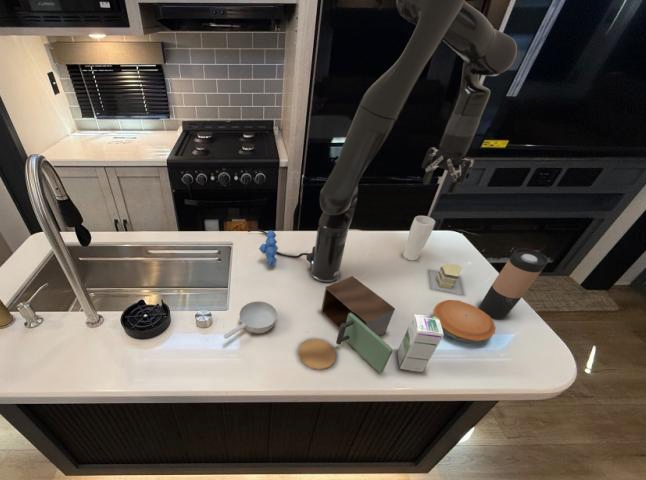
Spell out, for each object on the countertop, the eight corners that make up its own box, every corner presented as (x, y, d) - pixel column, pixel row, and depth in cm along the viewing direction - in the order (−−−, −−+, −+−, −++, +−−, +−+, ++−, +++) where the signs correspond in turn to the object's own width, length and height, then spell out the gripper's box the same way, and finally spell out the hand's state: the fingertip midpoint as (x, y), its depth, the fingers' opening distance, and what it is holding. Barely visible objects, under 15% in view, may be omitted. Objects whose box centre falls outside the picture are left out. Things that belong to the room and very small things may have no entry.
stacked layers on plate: (461, 294, 101) (469, 281, 97) (431, 288, 103) (438, 275, 99) (457, 276, 108) (465, 263, 104) (429, 271, 110) (435, 258, 106)
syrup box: (423, 373, 79) (446, 334, 69) (398, 369, 80) (418, 330, 70) (419, 355, 83) (440, 316, 73) (395, 351, 84) (413, 313, 74)
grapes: (258, 253, 118) (258, 224, 110) (276, 252, 118) (277, 224, 110) (259, 272, 110) (259, 242, 102) (278, 271, 110) (280, 242, 102)
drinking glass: (410, 264, 113) (426, 226, 103) (396, 254, 117) (409, 218, 107) (424, 259, 115) (440, 222, 105) (409, 250, 120) (423, 213, 109)
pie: (480, 358, 82) (489, 346, 79) (420, 328, 90) (427, 316, 86) (495, 326, 90) (504, 314, 87) (440, 301, 98) (446, 289, 95)
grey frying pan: (284, 322, 92) (285, 313, 89) (238, 357, 82) (238, 348, 80) (258, 304, 97) (258, 295, 95) (212, 335, 88) (211, 326, 85)
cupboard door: (330, 342, 85) (336, 319, 79) (344, 335, 87) (351, 312, 81) (368, 380, 76) (378, 358, 70) (383, 372, 78) (393, 349, 72)
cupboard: (320, 312, 95) (325, 286, 88) (345, 300, 99) (352, 275, 92) (358, 348, 85) (367, 322, 78) (384, 333, 88) (395, 308, 82)
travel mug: (507, 308, 96) (548, 253, 82) (506, 323, 91) (549, 268, 78) (479, 299, 99) (514, 245, 85) (476, 313, 94) (513, 258, 81)
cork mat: (291, 349, 84) (291, 348, 84) (319, 335, 88) (319, 334, 88) (313, 375, 78) (314, 374, 78) (343, 359, 82) (343, 358, 82)
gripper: (492, 136, 84) (465, 194, 95) (445, 124, 94) (426, 178, 105) (476, 140, 82) (450, 199, 93) (429, 127, 91) (410, 183, 102)
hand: (437, 188), depth 99 cm, fingers open, 8 cm apart
